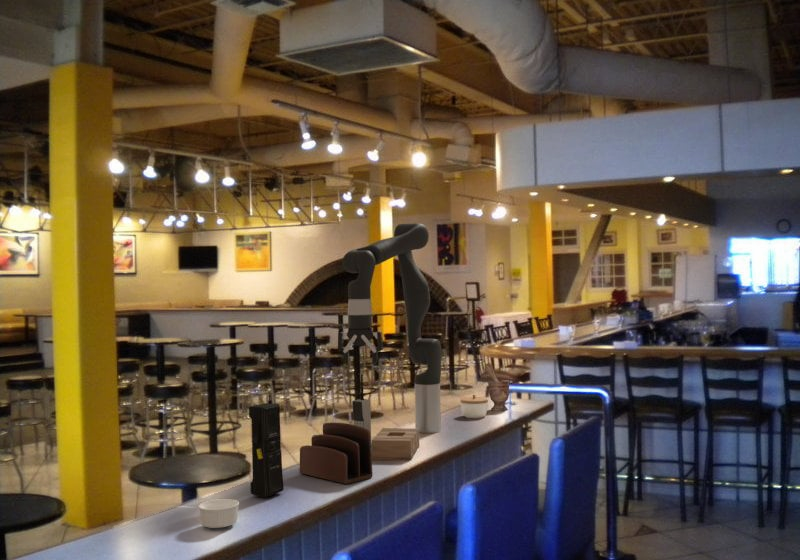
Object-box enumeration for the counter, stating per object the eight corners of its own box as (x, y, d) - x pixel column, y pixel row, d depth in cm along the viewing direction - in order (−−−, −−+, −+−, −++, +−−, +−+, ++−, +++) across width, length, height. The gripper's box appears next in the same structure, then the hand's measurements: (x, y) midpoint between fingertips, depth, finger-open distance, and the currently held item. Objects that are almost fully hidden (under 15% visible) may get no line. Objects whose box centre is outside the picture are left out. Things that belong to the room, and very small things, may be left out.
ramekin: (192, 528, 172) (191, 508, 172) (209, 516, 180) (208, 497, 180) (230, 529, 170) (229, 510, 170) (245, 518, 179) (245, 499, 179)
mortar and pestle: (478, 412, 320) (477, 364, 321) (488, 409, 327) (487, 362, 328) (503, 414, 314) (502, 365, 314) (513, 411, 321) (512, 363, 321)
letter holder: (325, 467, 228) (324, 419, 228) (373, 477, 214) (372, 426, 215) (299, 473, 221) (298, 424, 221) (346, 485, 207) (345, 432, 207)
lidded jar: (474, 415, 314) (474, 392, 314) (493, 418, 305) (493, 394, 305) (455, 418, 307) (454, 394, 307) (474, 422, 298) (473, 397, 299)
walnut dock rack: (383, 446, 256) (382, 428, 256) (419, 446, 254) (419, 428, 254) (371, 460, 236) (371, 440, 236) (411, 460, 234) (410, 440, 234)
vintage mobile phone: (352, 453, 245) (351, 374, 245) (361, 450, 250) (360, 372, 250) (363, 454, 243) (361, 374, 244) (371, 451, 248) (369, 373, 248)
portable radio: (265, 498, 194) (264, 398, 195) (247, 496, 197) (245, 397, 198) (285, 491, 201) (283, 394, 201) (266, 488, 204) (265, 393, 204)
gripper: (383, 312, 250) (384, 363, 249) (340, 313, 252) (341, 363, 252) (379, 313, 242) (380, 365, 242) (335, 314, 244) (336, 365, 244)
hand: (360, 364), depth 247 cm, fingers open, 8 cm apart
